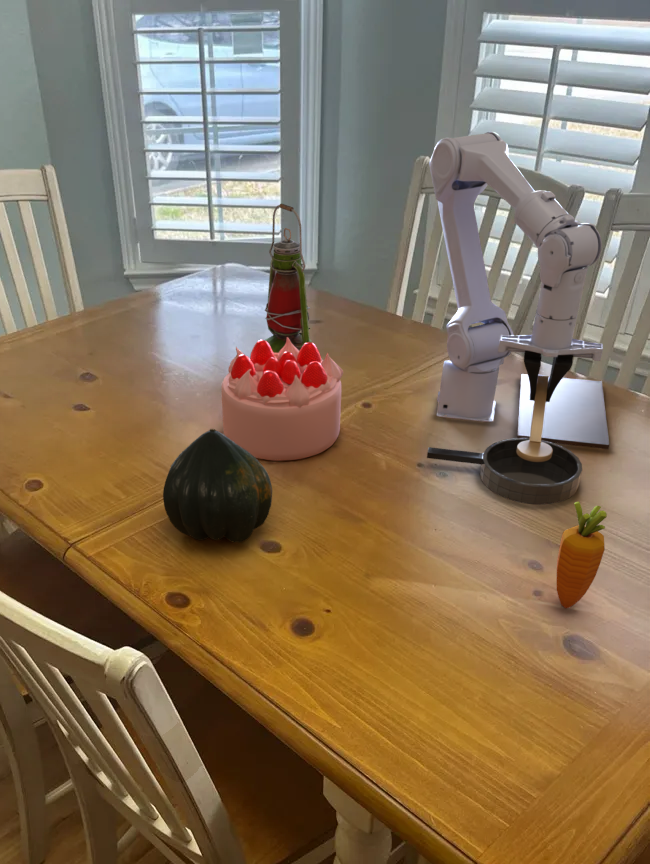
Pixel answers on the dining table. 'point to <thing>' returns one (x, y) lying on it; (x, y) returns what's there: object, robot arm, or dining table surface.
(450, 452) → the pan handle
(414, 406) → the dining table surface
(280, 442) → the cake
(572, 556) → the carrot
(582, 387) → the board
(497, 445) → the pan
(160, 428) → the dining table surface
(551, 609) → the dining table surface
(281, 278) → the lantern
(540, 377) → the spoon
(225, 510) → the squash
